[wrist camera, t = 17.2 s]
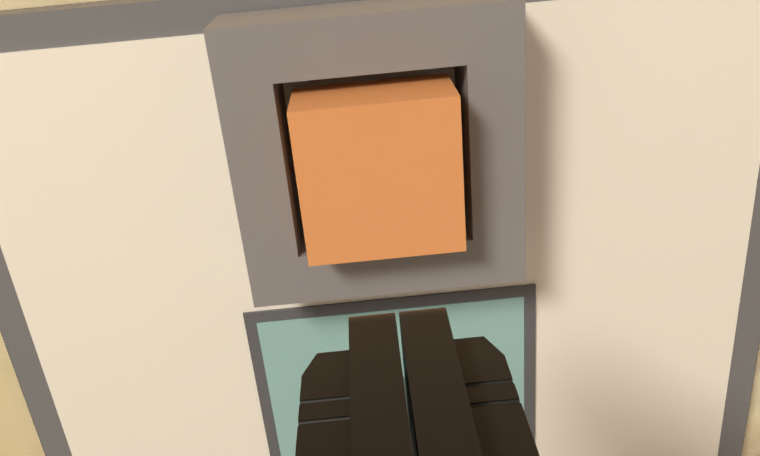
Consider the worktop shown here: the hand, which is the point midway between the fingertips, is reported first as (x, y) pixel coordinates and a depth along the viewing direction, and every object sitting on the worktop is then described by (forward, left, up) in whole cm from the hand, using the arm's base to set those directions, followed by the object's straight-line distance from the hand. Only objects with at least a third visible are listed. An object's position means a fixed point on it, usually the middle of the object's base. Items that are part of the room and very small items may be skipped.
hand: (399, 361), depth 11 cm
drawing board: (-7, 0, -13) cm, 15 cm away
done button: (0, 0, -10) cm, 10 cm away
